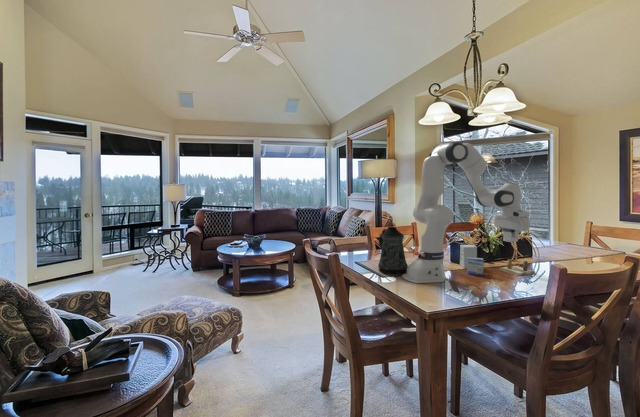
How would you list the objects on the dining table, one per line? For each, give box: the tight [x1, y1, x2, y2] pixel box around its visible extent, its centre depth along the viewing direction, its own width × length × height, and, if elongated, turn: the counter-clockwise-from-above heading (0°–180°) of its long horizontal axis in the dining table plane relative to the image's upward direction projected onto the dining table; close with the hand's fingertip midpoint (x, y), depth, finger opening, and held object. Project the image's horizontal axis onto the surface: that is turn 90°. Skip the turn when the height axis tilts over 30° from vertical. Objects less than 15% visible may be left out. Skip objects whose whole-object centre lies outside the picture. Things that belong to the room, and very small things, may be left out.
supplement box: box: [459, 244, 478, 269], centre depth 192 cm, size 7×7×13 cm
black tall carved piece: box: [377, 226, 409, 276], centre depth 187 cm, size 16×19×25 cm
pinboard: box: [498, 258, 536, 276], centre depth 181 cm, size 12×12×6 cm
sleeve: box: [502, 228, 519, 243], centre depth 182 cm, size 5×5×7 cm
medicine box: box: [466, 257, 485, 276], centre depth 178 cm, size 8×4×9 cm, turn 62°
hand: (510, 236), depth 182 cm, fingers closed on sleeve, 5 cm apart
